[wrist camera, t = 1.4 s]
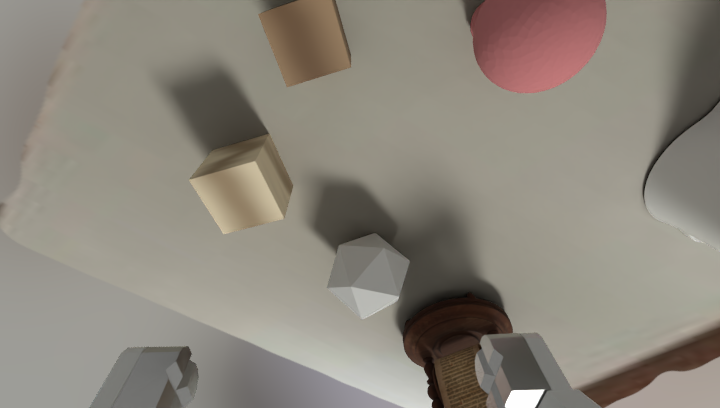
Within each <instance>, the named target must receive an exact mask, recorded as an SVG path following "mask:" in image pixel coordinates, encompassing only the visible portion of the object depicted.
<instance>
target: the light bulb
mask: <svg viewBox="0 0 720 408" xmlns="http://www.w3.org/2000/svg"><path fill="white" fill-rule="evenodd" d="M606 14H607V13H606V2H605V0H485V1H484V2H483V3H482V4H481V5H480V6H478V8H477V9H476V10H475V12H474V14H473V16H472V19H471V24H470V28H471V33H472V36H473V47H474V53H475V57H476V60H477V63H478V65H479V67H480V68H481V70H482V72H483V73H484V74H485V76H486V77H487V78H488V79H489V80H490V81H491V82H493V83H494V84H496V85H497V86H499V87H501V88H503V89H506V90H509V91H512V92H517V93H536V92H541V91H545V90H548V89H551V88H554V87H556V86H558V85H560V84H562V83H564V82H565V81H567V80H569V79H570V78H571V77H573V76H574V75H575V74H577V73H578V72H579V71H580V70H581V69H582V68H583V67H584V66H585V65H586V64H587V63H588V61H589V60H590V58H591V57H592V56H593V54H594V53H595V51H596V49H597V47H598V45H599V43H600V41H601V39H602V36H603V33H604V29H605V25H606Z"/></svg>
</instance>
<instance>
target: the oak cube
mask: <svg viewBox="0 0 720 408" xmlns="http://www.w3.org/2000/svg"><path fill="white" fill-rule="evenodd" d="M189 181H190V183H191V184H192V186H193V187H194V189H195V190H196V192H197V193H198V195H199V196H200V198H201V200H202V201H203V203H204V204H205V206H206V207H207V209H208V210H209V212H210V213H211V215H212V217H213V218H214V220H215V221H216V223H217V224H218V226H219V227H220V229H221V231H222V232H223V234H227V233H231V232H235V231H238V230H242V229H246V228H250V227H254V226H258V225H262V224H265V223H269V222H273V221H277V220H281V219H284V218H285V214H286V211H287V207H288V203H289V199H290V196H291V192H292V188H293V184H292V182H291V180H290V178H289V175H288V173H287V171H286V169H285V167H284V165H283V162H282V160H281V158H280V156H279V154H278V151H277V149H276V147H275V145H274V143H273V141H272V138H271V136H270V134H266V135H263V136H259V137H256V138H252V139H249V140H246V141H242V142H239V143H235V144H232V145H229V146H225V147H222V148H218V149H215V150H212V151H211V153H210V154H209V155H208V156H207V158H206V159H205V160H204V161H203V163H202V164H201V165H200V167H199V168H198V169H197V170H196V172H195V173H194V174H193V175H192V177H191V178H190V179H189Z"/></svg>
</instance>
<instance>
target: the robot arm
mask: <svg viewBox="0 0 720 408" xmlns="http://www.w3.org/2000/svg"><path fill="white" fill-rule="evenodd" d="M644 199H645V204H646V207H647V209H648V211H649V212H650V214H651V215H652V216H653V217H654V218H656V219H657V220H659V221H661V222H663V223H666V224H668V225H671V226H673V227H675V228H677V229H679V230H681V231H682V232H683V233H684V234H685V235H686V236H687V237H689V238H690V239H692V240H694V241H696V242H703V243H705V244H706V245H708V246H710V247H711V248H713V249H715V250H717V251H718V252H720V102H719V103H718V104H717V105H716V106H715V108H714V109H713V110H712V111H711V112H710V113H709V114H708V115H707V116H705V117H704V118H703V119H702V120H700V121H699V122H697V123H696V124H695V125H693V126H692V127H690V128H689V129H688V130H686V131H685V132H684V133H683V134H682V135H680V136H679V137H678V138H677V139H676V140H675V141H674V142H673V143H672V144H671V145H670V146H669V147H668V148H667V149H666V150H665V151H664V153H663V154H662V155H661V156H660V158H659V159H658V160H657V162H656V163H655V165H654V167H653V168H652V170H651V172H650V174H649V177H648V179H647V182H646V186H645V192H644ZM480 344H481V347H482V349H481V350H479V351H478V352H477V354H476V358H475V371H476V376H477V379H478V382H479V385H480V387H481V388H482V389H483V390H484V391H485V392H486V393H487V394H488V397H487V401H486V405H487V408H601V407H600V406H599V405H597V404H596V403H595V402H594V401H592V400H591V399H590V398H588V397H587V396H586V395H585V394H583V393H582V392H581V391H579V390H578V389H572V388H571V386H570V384H569V383H568V381H567V379H566V377H565V376H564V374H563V372H562V371H561V369H560V367H559V366H558V364H557V362H556V360H555V359H554V357H553V355H552V354H551V352H550V350H549V349H548V347H547V345H546V343H545V342H544V340H543V338H542V337H541V336H540V335H539V334H538V333H521V334H518V333H509V334H491V335H484V336H483V337H482V338H481V341H480ZM190 357H191V351H190V349H189V347H188V346H178V347H133V348H127V349H126V350H125V351H124V352H122V353H121V355H120V356H119V358H118V360H117V361H116V363H115V365H114V367H113V368H112V370H111V372H110V373H109V375H108V377H107V378H106V380H105V382H104V383H103V385H102V387H101V388H100V390H99V392H98V394H97V395H96V397H95V399H94V400H93V402H92V404H91V405H90V407H89V408H185V407H186V406H187V405H188V404H189V403H190V402H191V401H192V400H193V399H194V396H195V393H196V390H197V383H198V368H197V366H196V364H195V363H194V362H192V361H191V360H189V359H190Z"/></svg>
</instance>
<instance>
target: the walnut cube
mask: <svg viewBox="0 0 720 408" xmlns="http://www.w3.org/2000/svg"><path fill="white" fill-rule="evenodd" d="M258 15H259V18H260V20H261V23H262V25H263V28H264V30H265V33H266V35H267V38H268V40H269V43H270V45H271V48H272V50H273V53H274V55H275V58H276V60H277V63H278V65H279V68H280V70H281V73H282V75H283V78H284V81H285V83H286V86H287V87H289V86H292V85H296V84H299V83H302V82H305V81H309V80H312V79H315V78H318V77H321V76H325V75H328V74H331V73H334V72H337V71H341V70H344V69H347V68H350V67H351V54H350V50H349V47H348V43H347V40H346V36H345V33H344V29H343V26H342V22H341V19H340V15H339V11H338V8H337V4H336V1H335V0H296V1H293V2H290V3H287V4H284V5H281V6H279V7H276V8H273V9H270V10H268V11H265V12H263V13H260V14H258Z"/></svg>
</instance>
